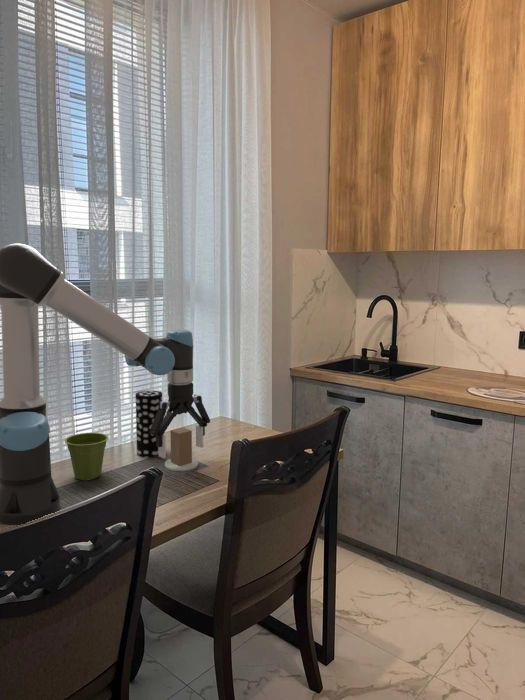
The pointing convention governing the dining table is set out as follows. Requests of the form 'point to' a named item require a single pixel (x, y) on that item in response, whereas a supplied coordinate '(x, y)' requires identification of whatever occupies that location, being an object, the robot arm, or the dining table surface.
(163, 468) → the mat
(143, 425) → the white-spotted black cylinder
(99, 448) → the plant pot
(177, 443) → the wooden post on disc
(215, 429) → the dining table surface
